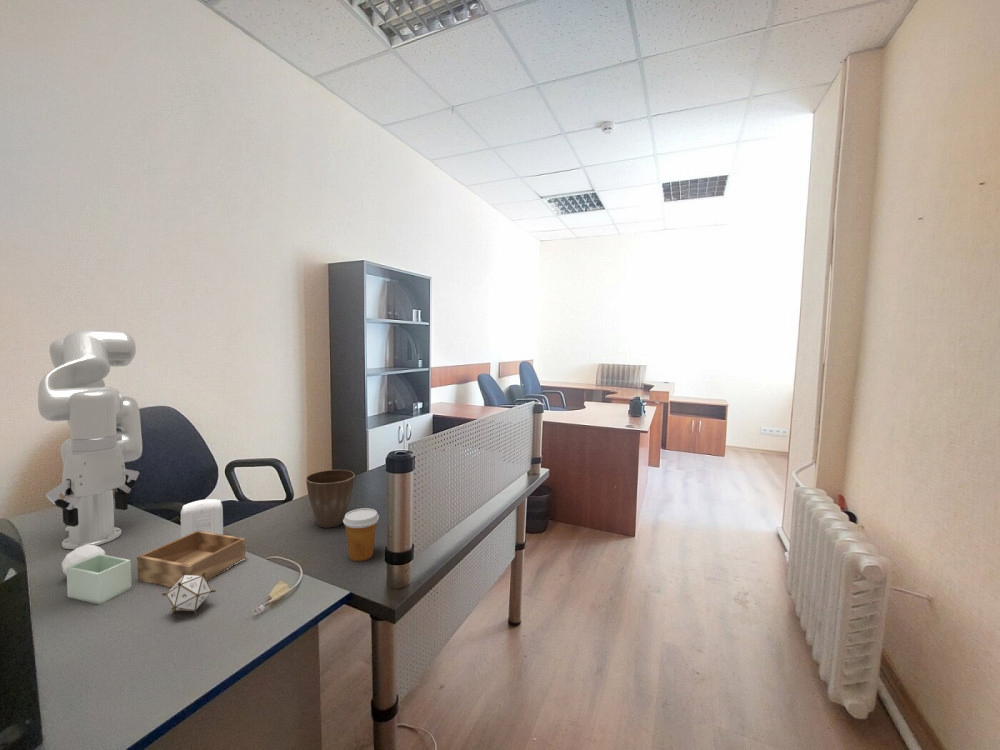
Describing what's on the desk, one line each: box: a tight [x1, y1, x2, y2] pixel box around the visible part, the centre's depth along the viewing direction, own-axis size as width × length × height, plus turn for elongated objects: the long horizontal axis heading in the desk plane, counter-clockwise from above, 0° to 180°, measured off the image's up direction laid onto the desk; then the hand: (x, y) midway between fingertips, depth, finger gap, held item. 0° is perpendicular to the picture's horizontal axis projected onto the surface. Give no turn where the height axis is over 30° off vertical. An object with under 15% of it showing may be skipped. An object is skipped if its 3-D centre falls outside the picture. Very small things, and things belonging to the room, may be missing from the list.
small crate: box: [66, 554, 133, 606], centre depth 97 cm, size 10×7×7 cm, turn 75°
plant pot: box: [305, 469, 356, 529], centre depth 137 cm, size 15×15×16 cm
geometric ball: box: [61, 544, 106, 576], centre depth 104 cm, size 8×8×8 cm
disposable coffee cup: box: [342, 507, 380, 562], centre depth 116 cm, size 10×10×12 cm
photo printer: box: [180, 498, 224, 538], centre depth 123 cm, size 10×4×12 cm, turn 123°
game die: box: [160, 571, 217, 615], centre depth 91 cm, size 9×8×10 cm
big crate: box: [136, 531, 246, 588], centre depth 108 cm, size 17×16×6 cm
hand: (97, 516), depth 96 cm, fingers open, 9 cm apart
